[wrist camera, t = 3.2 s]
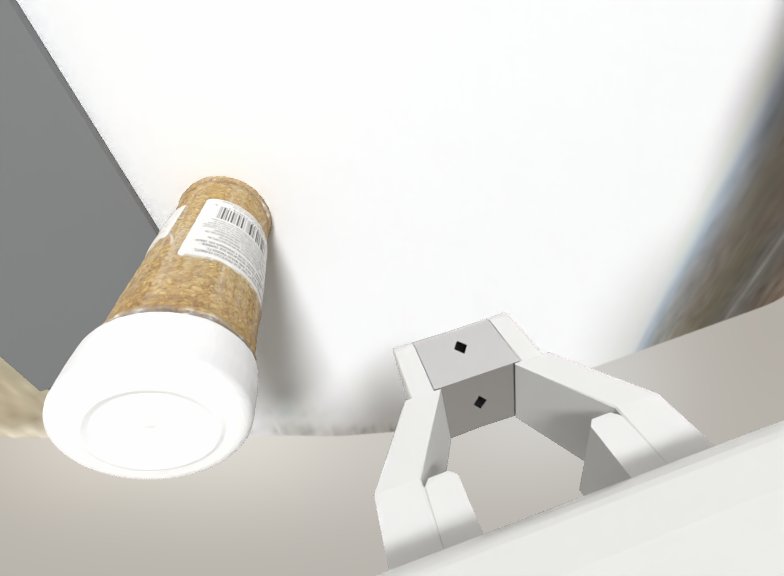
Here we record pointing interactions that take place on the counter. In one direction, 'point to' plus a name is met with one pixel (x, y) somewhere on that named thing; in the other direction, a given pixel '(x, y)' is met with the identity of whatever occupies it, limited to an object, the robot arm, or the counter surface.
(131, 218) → the mat
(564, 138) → the counter surface
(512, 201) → the counter surface
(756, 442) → the robot arm
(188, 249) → the sprinkles bottle
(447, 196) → the counter surface
